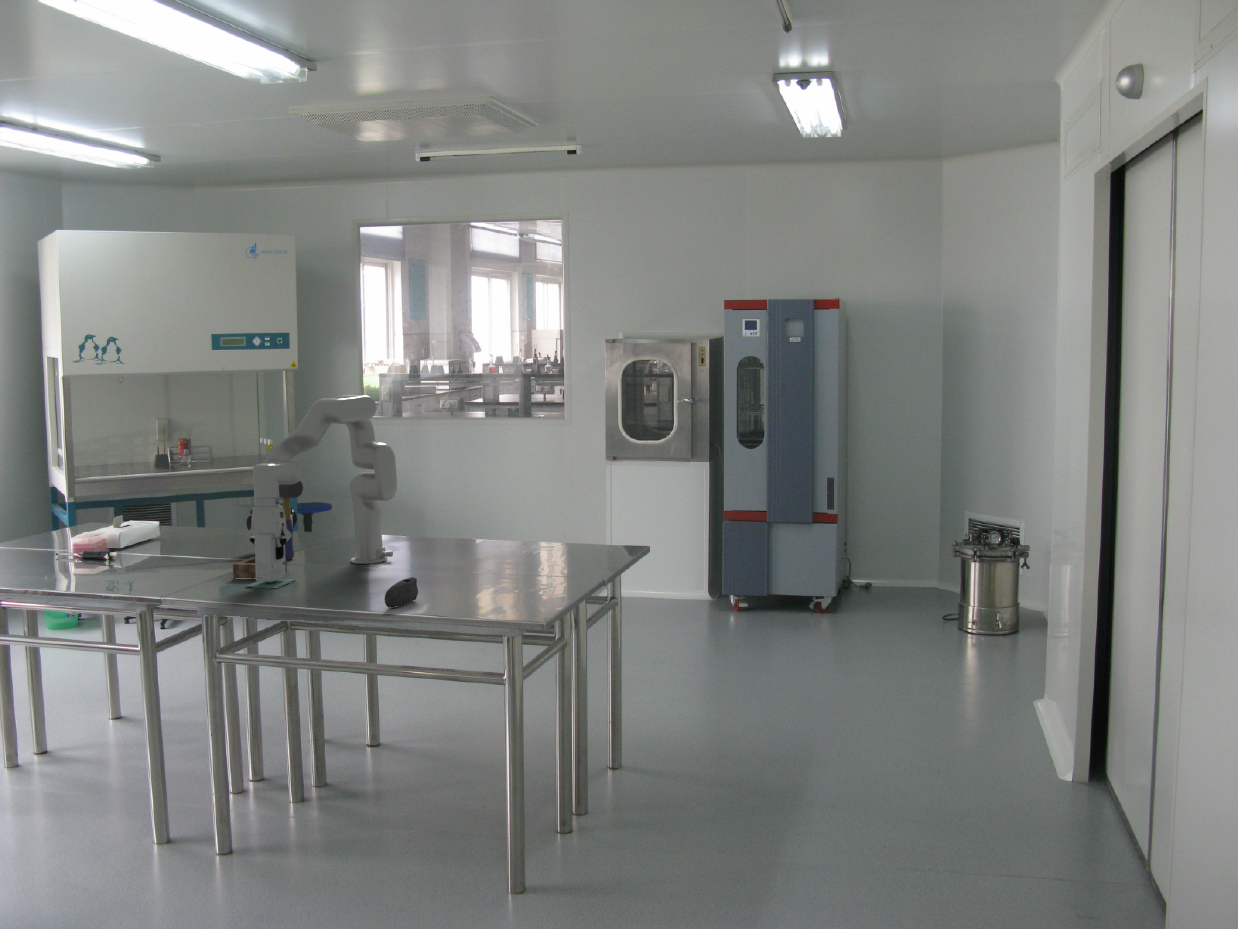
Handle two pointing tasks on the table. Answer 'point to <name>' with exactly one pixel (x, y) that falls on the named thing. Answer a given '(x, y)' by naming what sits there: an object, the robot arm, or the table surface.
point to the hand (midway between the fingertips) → (270, 558)
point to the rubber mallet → (287, 493)
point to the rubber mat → (271, 583)
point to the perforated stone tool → (402, 592)
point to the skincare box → (268, 559)
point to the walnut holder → (247, 568)
